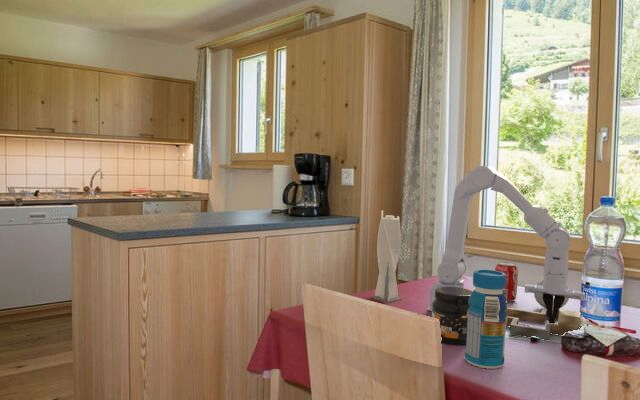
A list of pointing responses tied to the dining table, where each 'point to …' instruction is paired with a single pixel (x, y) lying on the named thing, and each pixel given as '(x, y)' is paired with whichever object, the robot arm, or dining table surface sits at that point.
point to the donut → (539, 296)
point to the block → (569, 318)
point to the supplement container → (452, 313)
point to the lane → (535, 317)
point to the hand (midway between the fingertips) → (551, 322)
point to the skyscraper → (388, 258)
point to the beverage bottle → (487, 320)
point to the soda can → (509, 279)
